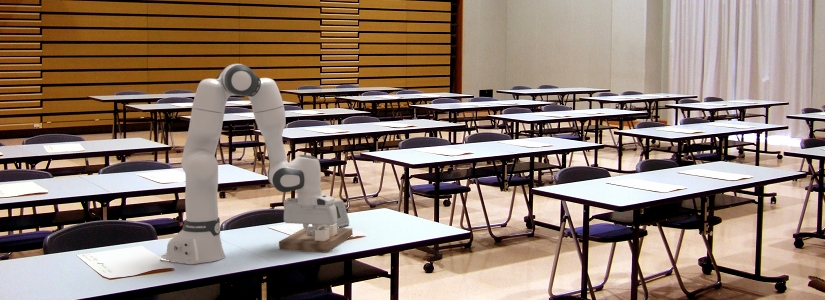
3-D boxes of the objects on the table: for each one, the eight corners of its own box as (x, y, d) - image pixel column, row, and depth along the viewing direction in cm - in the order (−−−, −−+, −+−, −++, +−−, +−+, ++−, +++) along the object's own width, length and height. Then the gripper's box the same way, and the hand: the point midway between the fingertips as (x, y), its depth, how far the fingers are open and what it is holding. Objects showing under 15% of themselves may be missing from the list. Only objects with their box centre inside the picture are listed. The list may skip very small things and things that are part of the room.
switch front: (315, 240, 309) (314, 228, 308) (319, 238, 313) (318, 225, 312) (325, 241, 308) (324, 228, 307) (329, 238, 311) (328, 226, 311)
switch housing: (279, 249, 310) (278, 241, 310) (307, 233, 335) (307, 225, 334) (327, 252, 305) (327, 243, 304) (352, 235, 329) (352, 227, 329)
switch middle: (323, 235, 316) (323, 223, 316) (327, 233, 320) (327, 221, 320) (333, 236, 315) (332, 224, 315) (337, 233, 319) (336, 221, 318)
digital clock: (322, 233, 336) (321, 206, 334) (309, 229, 343) (308, 203, 341) (354, 226, 346) (354, 201, 345) (341, 223, 353) (340, 198, 352)
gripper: (279, 199, 309) (281, 236, 311) (331, 201, 303) (333, 239, 305) (287, 196, 315) (288, 232, 317) (338, 198, 309) (339, 235, 311)
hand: (310, 235), depth 311 cm, fingers closed
